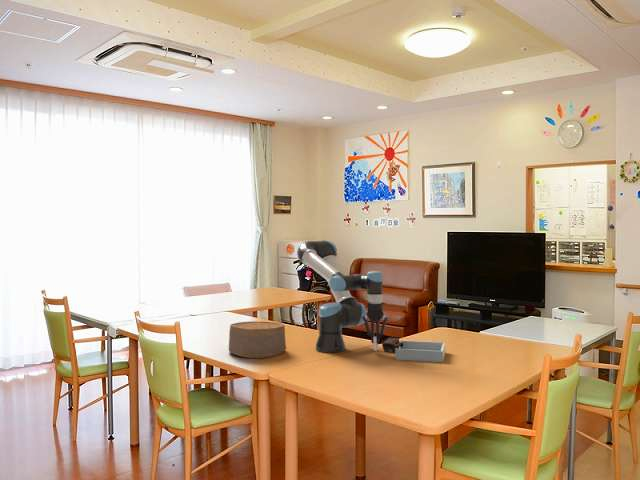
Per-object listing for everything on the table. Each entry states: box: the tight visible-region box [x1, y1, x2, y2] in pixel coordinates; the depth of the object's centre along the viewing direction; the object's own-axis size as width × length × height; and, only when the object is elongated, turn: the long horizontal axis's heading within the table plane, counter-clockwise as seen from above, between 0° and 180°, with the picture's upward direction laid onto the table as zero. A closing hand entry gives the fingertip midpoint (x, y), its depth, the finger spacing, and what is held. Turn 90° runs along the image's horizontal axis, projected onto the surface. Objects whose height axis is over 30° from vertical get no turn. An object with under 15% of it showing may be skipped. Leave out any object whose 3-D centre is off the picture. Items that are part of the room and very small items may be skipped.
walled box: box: [394, 339, 446, 363], centre depth 264 cm, size 22×20×5 cm
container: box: [228, 321, 287, 359], centre depth 272 cm, size 28×28×15 cm
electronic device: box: [381, 337, 403, 353], centre depth 275 cm, size 4×10×8 cm
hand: (375, 349), depth 270 cm, fingers closed
